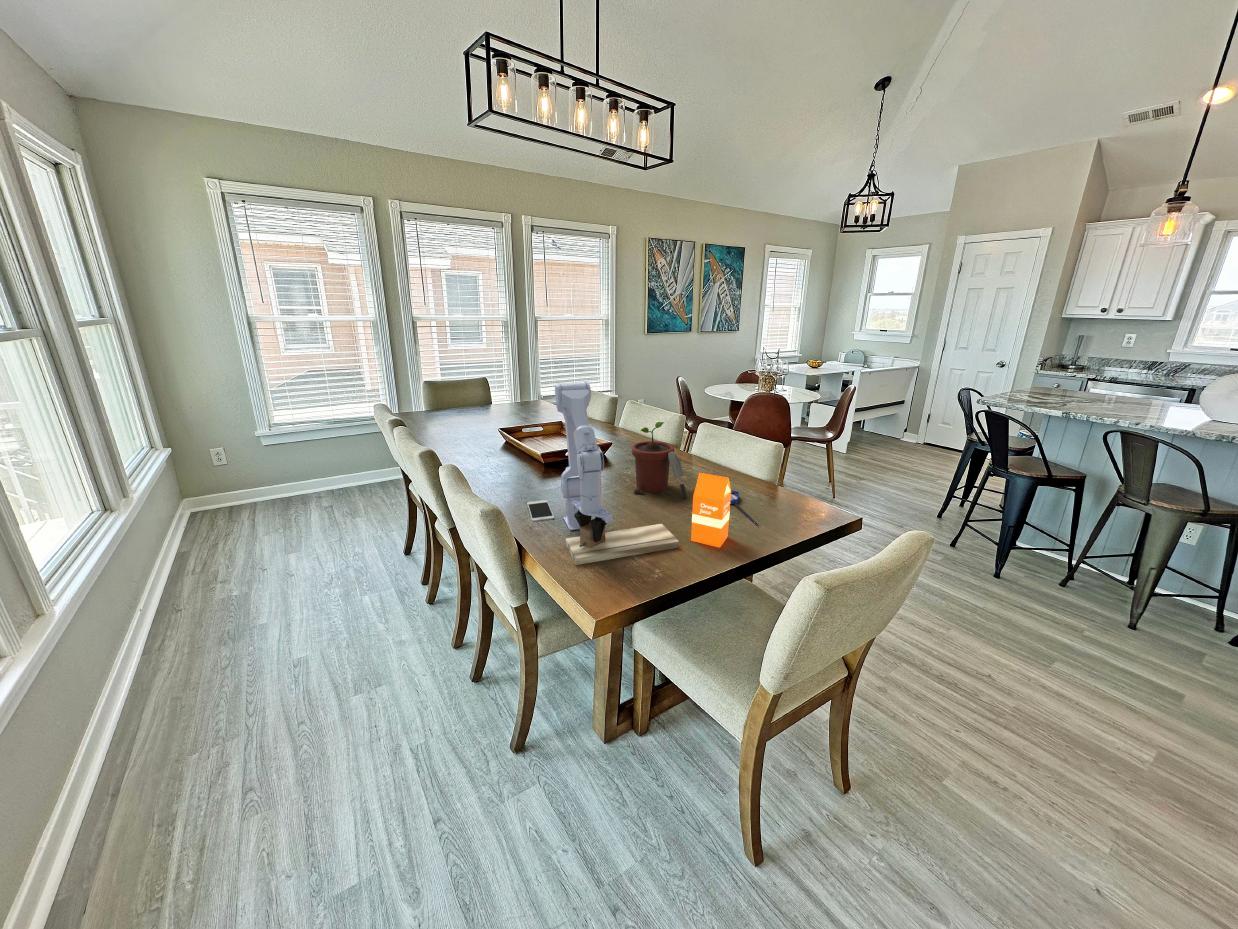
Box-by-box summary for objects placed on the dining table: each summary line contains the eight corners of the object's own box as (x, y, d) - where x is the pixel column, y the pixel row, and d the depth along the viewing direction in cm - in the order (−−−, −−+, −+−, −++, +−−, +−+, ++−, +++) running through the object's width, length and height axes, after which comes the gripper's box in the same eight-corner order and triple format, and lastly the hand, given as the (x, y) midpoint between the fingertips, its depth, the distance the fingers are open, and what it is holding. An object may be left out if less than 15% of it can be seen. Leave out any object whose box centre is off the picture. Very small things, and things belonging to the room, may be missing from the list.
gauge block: (595, 536, 138) (595, 520, 137) (605, 540, 136) (605, 524, 134) (575, 545, 133) (574, 529, 131) (585, 550, 130) (584, 534, 129)
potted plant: (670, 478, 190) (672, 416, 182) (687, 499, 170) (691, 430, 162) (626, 481, 187) (626, 418, 179) (639, 503, 166) (640, 433, 158)
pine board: (565, 544, 138) (565, 538, 137) (661, 529, 147) (661, 523, 146) (575, 565, 127) (575, 558, 126) (678, 547, 136) (678, 541, 135)
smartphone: (547, 502, 168) (547, 499, 168) (554, 520, 154) (554, 517, 154) (526, 504, 167) (526, 502, 166) (532, 523, 152) (532, 520, 152)
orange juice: (719, 547, 136) (724, 482, 130) (690, 540, 140) (693, 476, 134) (728, 536, 142) (733, 473, 136) (699, 530, 147) (703, 468, 140)
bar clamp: (707, 490, 172) (733, 488, 174) (707, 496, 173) (733, 494, 175) (750, 533, 142) (780, 530, 144) (749, 540, 143) (779, 537, 145)
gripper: (620, 496, 128) (620, 541, 132) (583, 483, 137) (584, 525, 142) (601, 503, 123) (602, 550, 127) (564, 489, 132) (566, 533, 137)
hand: (591, 538), depth 134 cm, fingers closed on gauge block, 4 cm apart
